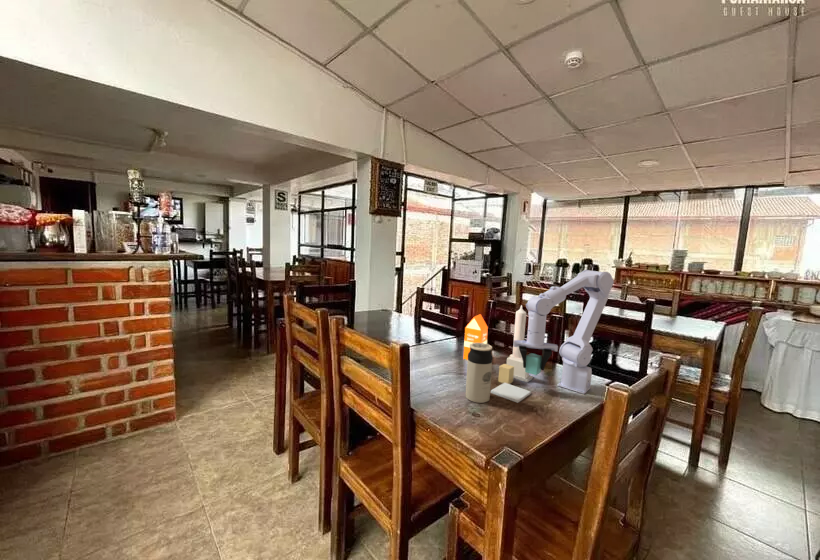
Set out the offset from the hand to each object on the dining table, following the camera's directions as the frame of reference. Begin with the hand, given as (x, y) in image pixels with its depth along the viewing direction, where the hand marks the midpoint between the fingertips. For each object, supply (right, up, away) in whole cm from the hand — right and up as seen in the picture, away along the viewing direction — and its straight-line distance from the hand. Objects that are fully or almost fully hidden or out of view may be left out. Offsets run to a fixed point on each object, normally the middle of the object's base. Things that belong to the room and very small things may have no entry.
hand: (533, 368), depth 116 cm
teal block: (0, -1, 0) cm, 2 cm away
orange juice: (-15, -5, +32) cm, 36 cm away
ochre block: (-8, -7, +8) cm, 13 cm away
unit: (-1, -7, +13) cm, 15 cm away
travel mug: (-21, -8, -7) cm, 24 cm away
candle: (+6, -5, +35) cm, 36 cm away
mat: (-9, -8, -2) cm, 12 cm away
